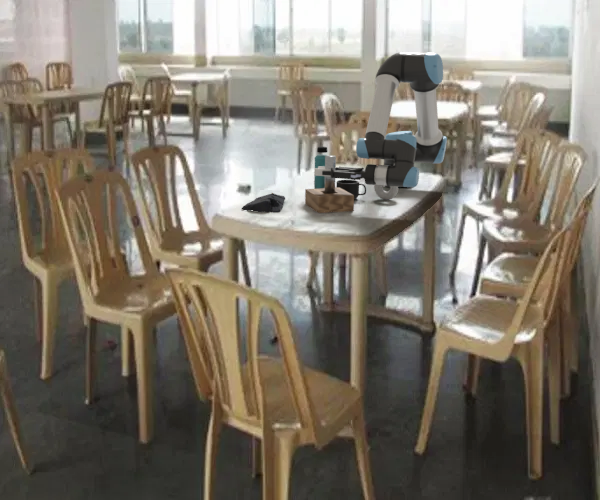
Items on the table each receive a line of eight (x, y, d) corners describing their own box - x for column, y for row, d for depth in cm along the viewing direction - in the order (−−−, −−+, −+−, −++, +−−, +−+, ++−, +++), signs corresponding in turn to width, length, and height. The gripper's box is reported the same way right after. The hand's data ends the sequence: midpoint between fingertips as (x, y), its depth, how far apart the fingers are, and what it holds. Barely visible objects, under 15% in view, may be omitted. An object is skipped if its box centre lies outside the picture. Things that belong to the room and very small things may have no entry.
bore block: (339, 202, 331) (339, 187, 330) (353, 210, 317) (354, 195, 315) (305, 204, 327) (305, 189, 326) (318, 213, 312) (318, 197, 311)
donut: (372, 199, 337) (373, 174, 335) (375, 197, 341) (376, 173, 338) (396, 201, 334) (397, 176, 331) (399, 200, 337) (400, 175, 334)
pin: (332, 191, 323) (333, 155, 319) (336, 193, 319) (337, 156, 315) (323, 192, 322) (323, 155, 318) (326, 194, 318) (327, 157, 314)
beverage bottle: (328, 197, 341) (329, 148, 336) (312, 196, 342) (312, 147, 337) (331, 194, 347) (332, 145, 342) (315, 193, 348) (315, 145, 343)
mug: (334, 200, 335) (334, 183, 333) (338, 196, 343) (338, 179, 342) (364, 202, 333) (365, 184, 331) (367, 197, 341) (367, 180, 339)
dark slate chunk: (291, 202, 333) (291, 190, 332) (278, 214, 312) (278, 201, 311) (254, 200, 336) (253, 188, 335) (239, 212, 315) (238, 199, 314)
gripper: (371, 188, 306) (309, 184, 313) (381, 181, 322) (322, 176, 329) (371, 168, 304) (310, 164, 311) (382, 161, 320) (322, 157, 327)
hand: (316, 170), depth 320 cm, fingers closed on pin, 4 cm apart
